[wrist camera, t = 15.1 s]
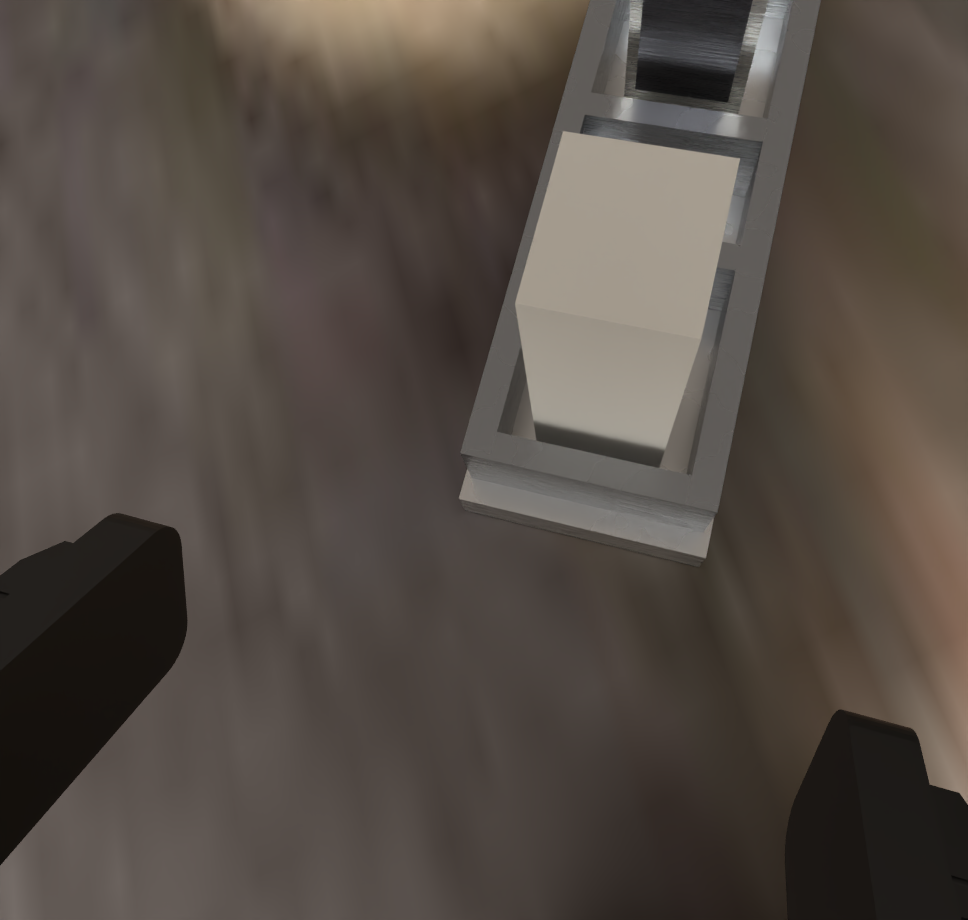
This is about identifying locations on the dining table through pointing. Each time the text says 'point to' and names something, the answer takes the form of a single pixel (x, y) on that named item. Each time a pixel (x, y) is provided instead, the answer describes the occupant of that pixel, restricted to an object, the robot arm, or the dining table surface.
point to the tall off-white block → (620, 291)
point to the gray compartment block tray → (737, 284)
